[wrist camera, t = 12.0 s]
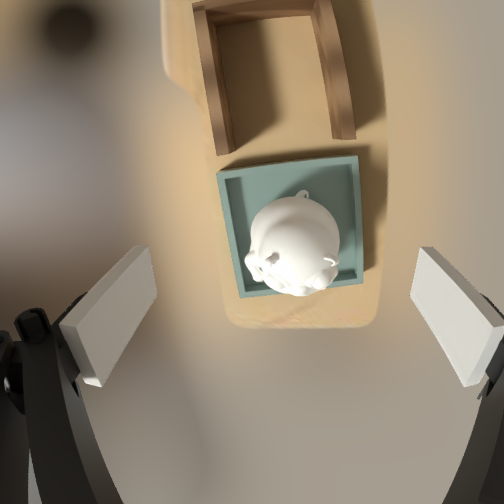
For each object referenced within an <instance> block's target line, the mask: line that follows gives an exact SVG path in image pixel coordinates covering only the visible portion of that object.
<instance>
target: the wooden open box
mask: <svg viewBox="0 0 504 504" xmlns="http://www.w3.org/2000/svg"><path fill="white" fill-rule="evenodd" d="M192 7H193V14H194V20H195V27H196V33H197V40H198V46H199V52H200V59H201V65H202V71H203V77H204V83H205V89H206V95H207V101H208V107H209V113H210V119H211V125H212V131H213V137H214V142H215V148H216V154H217V156H220V155H226V154H230V153H232V152H234V151H236V147H235V141H234V135H233V129H232V123H231V117H230V111H229V105H228V99H227V93H226V87H225V81H224V75H223V69H222V63H221V57H220V52H219V46H218V40H217V34H216V28H215V27H219V26H224V25H230V24H235V23H241V22H247V21H254V20H262V19H270V18H279V17H291V16H306V15H311V19H312V24H313V28H314V33H315V37H316V42H317V47H318V52H319V57H320V62H321V67H322V72H323V78H324V84H325V90H326V96H327V102H328V108H329V115H330V122H331V129H332V137H333V139H340V140H352V139H356V131H355V123H354V116H353V109H352V102H351V96H350V89H349V83H348V78H347V72H346V67H345V62H344V57H343V52H342V47H341V42H340V38H339V33H338V29H337V25H336V21H335V17H334V13H333V9H332V5H331V1H330V0H204V1H200V2H196V3H192Z"/></svg>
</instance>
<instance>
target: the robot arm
mask: <svg viewBox="0 0 504 504" xmlns="http://www.w3.org/2000/svg"><path fill="white" fill-rule="evenodd" d="M156 296H157V290H156V285H155V280H154V274H153V268H152V262H151V257H150V251H149V246H134V247H133V248H132V249H131V250H130V251H129V252H128V253H127V254H126V255H125V256H123V257H122V258H121V259H120V260H119V261H118V262H117V263H116V264H115V265H114V266H113V267H112V268H111V269H110V270H109V271H108V272H107V273H106V274H105V275H104V276H103V278H101V279H100V280H99V282H97V283H96V285H95V286H94V287H93V288H92V289H91V290H90V291H89V292H86V293H84V294H83V295H81V296H79V297H78V298H77V299H76V300H75V301H74V302H73V303H72V304H71V306H69V307H68V308H67V309H66V312H63V313H62V314H61V316H60V317H59V318H58V319H57V320H56V321H55V322H54V323H53V324H52V325H50V323H49V320H48V318H47V315H46V313H45V311H44V310H43V309H42V308H32V309H28V310H26V311H24V312H22V313H21V314H19V315H18V316H17V318H16V319H15V321H14V325H15V327H16V329H17V331H18V333H19V336H20V338H21V340H22V341H13V340H12V339H11V336H10V334H9V332H8V331H5V330H1V331H0V504H28V467H29V450H30V453H31V458H32V463H33V468H34V473H35V477H36V482H37V486H38V490H39V494H40V498H41V501H42V504H123V502H122V500H121V498H120V496H119V494H118V491H117V489H116V487H115V485H114V483H113V481H112V478H111V476H110V474H109V472H108V469H107V467H106V464H105V462H104V459H103V457H102V455H101V452H100V449H99V447H98V444H97V441H96V439H95V436H94V433H93V430H92V427H91V424H90V421H89V418H88V415H87V412H86V409H85V405H84V402H83V399H82V395H81V391H80V388H79V385H78V383H77V381H76V378H77V376H78V374H79V373H81V375H82V377H83V379H84V381H85V383H86V384H90V385H95V386H99V387H102V386H103V384H104V383H105V381H106V379H107V378H108V376H109V374H110V372H111V371H112V369H113V367H114V366H115V364H116V362H117V360H118V359H119V357H120V355H121V354H122V352H123V350H124V349H125V347H126V345H127V343H128V342H129V340H130V338H131V337H132V335H133V334H134V332H135V330H136V329H137V327H138V325H139V323H140V322H141V320H142V319H143V317H144V315H145V314H146V312H147V311H148V309H149V308H150V306H151V304H152V302H153V301H154V300H155V298H156ZM410 297H411V299H412V300H413V302H414V303H415V305H416V306H417V308H418V309H419V311H420V312H421V314H422V316H423V317H424V319H425V320H426V322H427V324H428V325H429V327H430V328H431V330H432V331H433V333H434V335H435V337H436V338H437V340H438V342H439V343H440V345H441V347H442V348H443V350H444V352H445V354H446V355H447V357H448V359H449V360H450V362H451V364H452V366H453V368H454V370H455V371H456V373H457V375H458V377H459V378H460V380H461V382H462V384H463V386H464V387H467V386H471V385H475V384H479V382H480V380H481V379H482V377H483V375H484V373H485V372H486V373H487V375H488V377H489V380H488V381H487V383H486V384H485V386H484V388H483V389H482V391H481V393H480V394H479V396H478V398H477V399H480V397H481V396H482V400H481V404H480V407H479V411H478V415H477V418H476V421H475V425H474V428H473V431H472V434H471V437H470V440H469V442H468V445H467V448H466V451H465V453H464V456H463V459H462V461H461V464H460V466H459V468H458V471H457V473H456V476H455V478H454V480H453V482H452V484H451V487H450V489H449V491H448V493H447V495H446V497H445V499H444V501H443V503H442V504H504V315H503V314H502V313H501V312H499V310H498V309H497V308H496V306H495V307H494V304H493V303H492V302H491V301H490V300H489V299H488V298H487V297H485V296H484V295H482V294H481V293H479V292H478V291H477V290H476V289H475V288H474V287H473V286H472V285H471V284H470V283H469V282H468V281H467V279H466V278H464V276H462V274H461V273H460V272H458V270H456V269H455V268H454V267H453V266H452V265H451V264H450V263H449V262H448V261H447V260H446V259H445V258H444V257H443V256H442V255H441V254H440V253H439V252H438V251H437V250H436V249H434V248H433V247H420V251H419V255H418V261H417V265H416V271H415V275H414V280H413V284H412V288H411V292H410ZM4 383H5V384H6V386H7V389H6V391H5V387H4Z"/></svg>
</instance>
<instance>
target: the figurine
mask: <svg viewBox="0 0 504 504" xmlns="http://www.w3.org/2000/svg"><path fill="white" fill-rule="evenodd" d="M305 194H306V195H307V198H304V196H305ZM308 198H309V193H308V191H306V190H301V191H299V192H298V193H297V194H296V196H295V197H284V198H280V199H277V200H274V201H272V202H270V203H268V204H267V205H265V206H264V207H263V208H262V209H261V210H260V211H259V212H258V213H257V214H256V216H255V218H254V220H253V222H252V226H251V241H252V242H251V246H250V251H249V253H248V254H247V255H246V257H245V264H246V266H247V267H248V269H249V270H250V272H251V273H252V276H253V279H254V280H255V281H256V282H258V281H259V282H263V280H264V282H265V283H266V284H267V285H268V286H269V287H270V288H272V289H274V290H276V291H278V292H281V293H289V294H292V295H295V296H307V295H310V294H312V293H314V292H316V291H318V290H322V289H325V288H326V287H328V286H329V285H330V284H331V283H332V282H333V280H334V278H335V277H336V276H337V275H338V268H337V266H336V265H337V264H338V263H339V261H340V260H339V258H338V251H339V244H340V238H339V230H338V227H337V224H336V222H335V220H334V218H333V216H332V215H331V214H330V212H329V211H328V210H327V209H326V208H325V207H323V206H322V205H321V204H319V203H317V202H315V201H313V200H311V199H308ZM259 268H262V271H263V272H262V271H261V270H260V269H259Z"/></svg>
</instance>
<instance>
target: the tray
mask: <svg viewBox="0 0 504 504" xmlns="http://www.w3.org/2000/svg"><path fill="white" fill-rule="evenodd" d="M216 176H217V182H218V187H219V193H220V198H221V203H222V209H223V214H224V219H225V225H226V230H227V235H228V240H229V246H230V251H231V256H232V261H233V266H234V271H235V276H236V281H237V286H238V291H239V296H240V298H247V297H257V296H266V295H275V294H284V293H281V292H278V291H276V290H274V289H272V288H270V287H269V286H268V285H267V284H266V283H265V282H264V280H263V282H259V281H258V282H256V281H255V280H254V279H253V276H252V273H251V272H250V270H249V269H248V267H247V266H246V264H245V257H246V255H247V254H248V253H249V251H250V246H251V242H252V241H251V226H252V222H253V220H254V218H255V216H256V214H257V213H258V212H259V211H260V210H261V209H262V208H263V207H264V206H265V205H267V204H268V203H270V202H272V201H274V200H277V199H280V198H284V197H295V196H296V194H297V193H298V192H299V191H301V190H306V191H308V193H309V198H308V199H311V200H313V201H315V202H317V203H319V204H321V205H322V206H323V207H325V208H326V209H327V210H328V211H329V212H330V214H331V215H332V216H333V218H334V220H335V222H336V224H337V227H338V230H339V238H340V244H339V251H338V258H339V260H340V261H339V263H338V264H337V265H336V266H337V268H338V275H337V276H336V277H335V278H334V280H333V282H332V283H331V284H330V285H329V286H328V287H326V288H333V287H340V286H347V285H355V284H362V283H363V224H362V203H361V188H360V175H359V163H358V156H357V155H353V154H348V155H336V156H325V157H315V158H305V159H296V160H288V161H280V162H272V163H265V164H257V165H251V166H244V167H237V168H231V169H225V170H220V171H218V172H217V173H216ZM304 198H307V195H306V194H305V196H304ZM259 269H260V270H261V271H262V268H259ZM262 272H263V271H262Z"/></svg>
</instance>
